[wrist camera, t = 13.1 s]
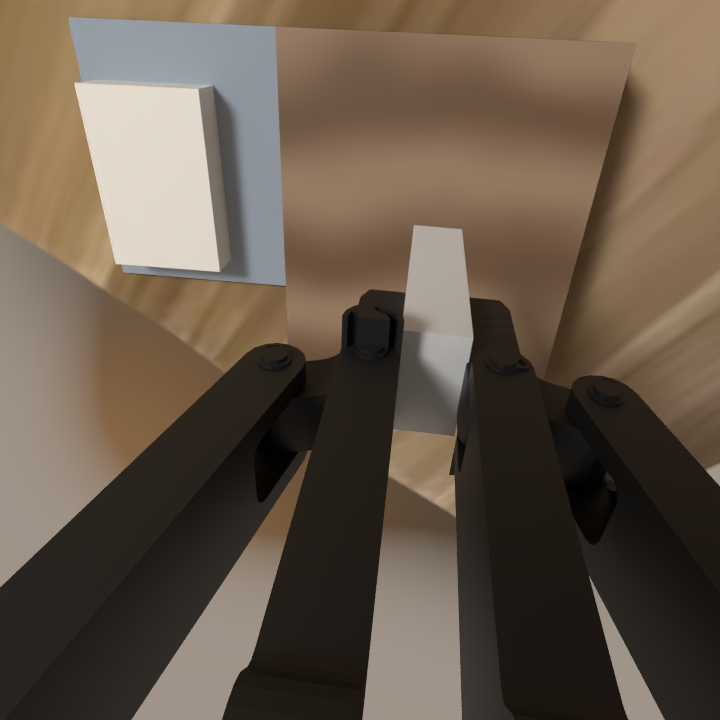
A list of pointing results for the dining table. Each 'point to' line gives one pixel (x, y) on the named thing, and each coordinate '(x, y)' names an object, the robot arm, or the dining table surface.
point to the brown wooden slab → (439, 167)
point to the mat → (234, 118)
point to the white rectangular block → (158, 172)
